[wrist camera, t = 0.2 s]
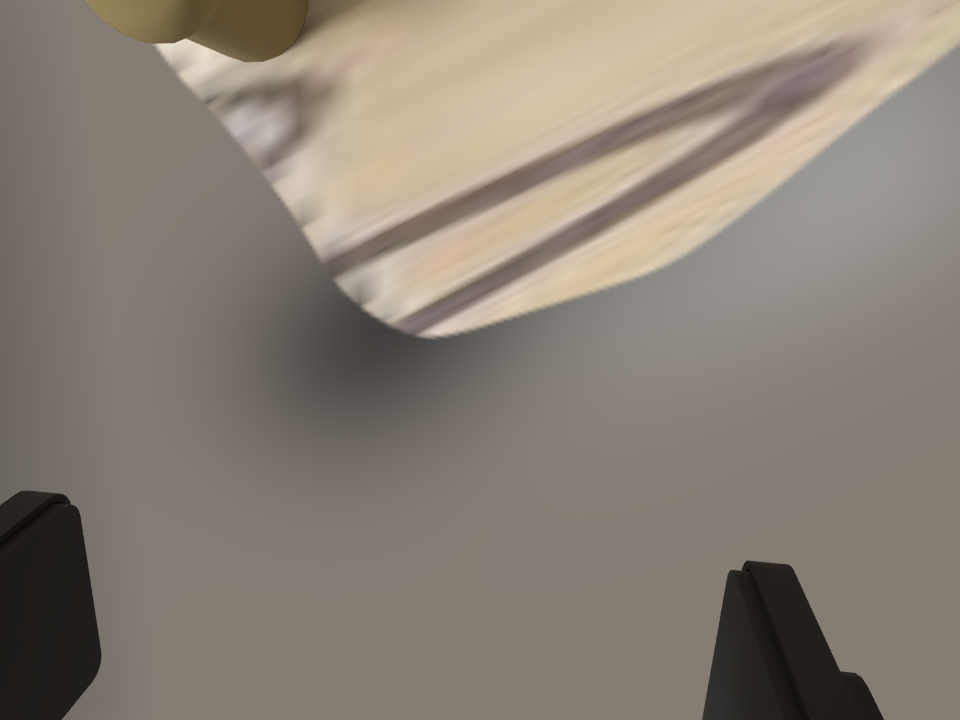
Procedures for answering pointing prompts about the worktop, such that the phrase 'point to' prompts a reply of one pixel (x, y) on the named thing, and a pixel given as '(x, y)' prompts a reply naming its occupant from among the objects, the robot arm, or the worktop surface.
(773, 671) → the robot arm
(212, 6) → the cork
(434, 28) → the worktop surface
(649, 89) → the worktop surface
